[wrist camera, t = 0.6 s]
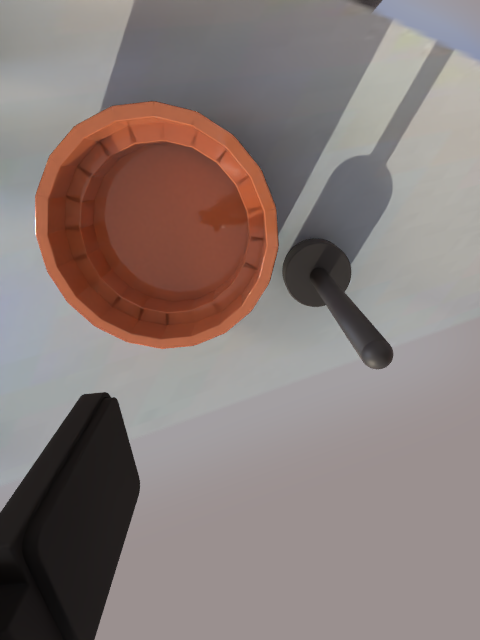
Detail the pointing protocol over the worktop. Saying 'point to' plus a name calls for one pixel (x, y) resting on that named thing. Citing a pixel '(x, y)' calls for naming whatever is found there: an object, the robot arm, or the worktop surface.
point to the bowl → (156, 224)
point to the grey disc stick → (333, 295)
